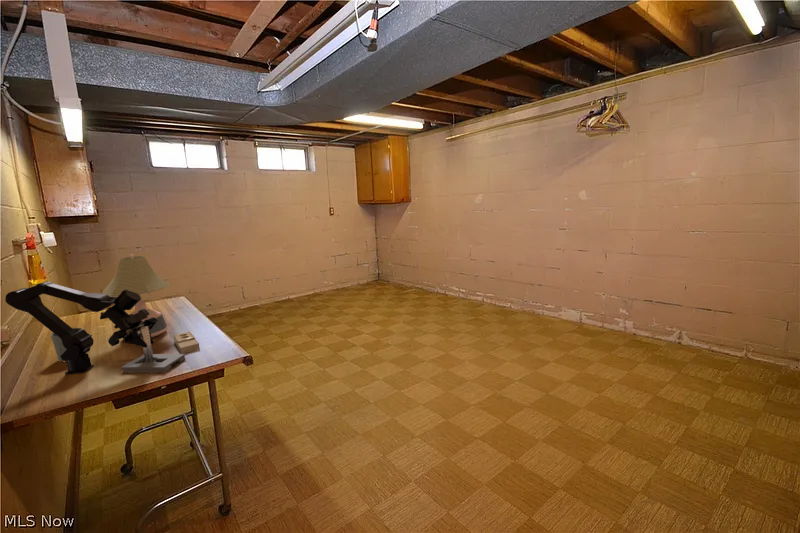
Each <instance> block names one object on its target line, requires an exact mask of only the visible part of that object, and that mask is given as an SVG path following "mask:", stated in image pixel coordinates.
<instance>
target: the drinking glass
mask: <svg viewBox="0 0 800 533" xmlns="http://www.w3.org/2000/svg"><path fill="white" fill-rule="evenodd" d="M71 328H72V327H71ZM72 329H74V330H76V331H81V330H83V327H73V328H72ZM50 338H51V341H52V343H53V346H54V350H55V353H56V355H57V360H58V361H59V362H60V361H63V360H62V358H61V357H60V356H61V355H62V354H63V353H64V352H65V351H66V349H65V347H64V346H63V344H62V341H61V339H60V338H59V337H58V336H57V335H56V334H54V333H53V332H52V333H51V334H50Z"/></svg>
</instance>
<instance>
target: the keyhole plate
mask: <svg viewBox="0 0 800 533" xmlns="http://www.w3.org/2000/svg"><path fill="white" fill-rule="evenodd" d="M153 358H154V360H156V361H157V362H149V363H147V364H144V363H145V356H144V354H142V355H141V356H139V357H137V358H135V359H133V360H131V361H130V362H128V363H126V364H124V365H122V366H121V367H120V369H121V370H122V371H121V372H122V373H167V372H169V371H170V370H172V365H173V364H174V363H175V364H179V363H182V362H184V361H185V360H186V353H183V354H181V353H153Z"/></svg>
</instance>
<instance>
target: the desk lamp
mask: <svg viewBox="0 0 800 533" xmlns="http://www.w3.org/2000/svg"><path fill="white" fill-rule="evenodd" d="M170 286H171V284H170V283H168V282H167V281H166V280H164V279H163V278H162V277H161V276H160V275H158V274H157V273H156V271H155V270H154V269H153V268H152V267H151V265H150V264H149V262H148V260H147V259H146V257H145V256H144V255H138V256H137V255H136V256H135V254H129V256H127V257H122V258H119V260H118V264H117V269H116V271H115V274H114V276H113V277H112V280H111V281H110V282H109V284H108V285H107V286H106V287H105V288H104V289H103V290H102V292H101V294H106V295H108V296H110V297H118V296H119V295H120V294H121V292H122V291H123V290H125V289H127V290H128V291H132V292H134V293H137V294H138V295H139V296H140V297H141V298H142V295H141V294H148V293H152V292H156V291H159V290H163V289H165V288H168V287H170ZM147 306H148V305H147V304H146V301H145V300H143V299H141V300H140V301H139V302H138V303H137V304H136V305H135V306H134V310H133V311H132V312H130V313H128V314H129V315H130V314H133V315H134V314H136V313H139V312H138V311H140V310H142V309H146V310H147V311H148V312H149V315H148V316H147V317H148V318H145V319H143V320H141V321H142V323H140V324H139V325H142V324H143V322H144V321H145V320H146V319H149V318H152V317H155V318H156V319H157V320H158V322H157V323H156V324H155V325H154V327H153V328H152V329H151V330H149V332H150V335H151V337H152V339H153V338H155V337H156V338H157V336H160V335H161V334H162V333H164V332H165V331H166V330H167V329H168V325H167V322H166V320H165V319H164V317H163V316H164V315H163V314H162V313H161V312H160V311H157V310H154V309H151V308H148V307H147ZM137 334H138V335H139V333H138V332H137Z"/></svg>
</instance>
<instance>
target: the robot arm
mask: <svg viewBox="0 0 800 533" xmlns="http://www.w3.org/2000/svg"><path fill="white" fill-rule="evenodd" d="M42 295H47V296H50V297H53V298H56V299H57V298H58V299H61V300H65V301H69V302H72V303H76V304H79V305H80V306H81V307H83V308H84V309H86V310H88V311H91V312H94V313H98V312H100V316H99V319H100V320H106V319H108V320H109V321H110V322H112V323H113V324H114V326H113V328H114V329H115V330H116V329H119V330H117V331H114V332H113V333H112V334H111V336H110V337H109V338H108V340H107V342H108V344H109V345H110V346H111V347H115V346H117V345H119V344H120V340H121V339H123V341H122V343H123V344H130V345H134V346H135V345H136V346H139V347H141V348H143V347H145V348H146V347H147V344H146V343H145V342H144V341H143V340H142V339H141V334H140V328H141V327H145V326H148V329H149V330H151V329H152V328H153V327H154V325H155V324H156V323H157V322H158V320H157V319H156V318H155V317H152V318H149V319H146V320H145V321H144V322H143V324H142V325H139V324H140V323H142V321H141V320H143V319H145V318H148V317H147V316H148V315H149V312H148V311H147V310H146V309H142V310H140V311H138V312H139V313H136V314H134V315H133V314H131V313H128V312H126V311H131V310H132V309H133V308H135V305H136V304H137V303H138V302H139V301H140V300H142V296H141V297H140V296H139V295H138V294H137V293H134V292H132V291H128V290H127V289H125V290H123V291H122V292H121V294H120V295H119V296H113V297H112V296H108V295H106V294H103V293H99V292H98V293H97V292H85V291H81V290H77V289H73V288H70V287H67V286H63V285H60V284H57V283H54V282H52V281H43V282H40V283H37V284H36V285H33V286H31V287H22V288H19V289H16V290H12V291H9V292H8V293H7V294H6V295H5V298H4V301H5V303H6V304H7V305H8V306H10V307H12V308H14V309H15V310H17V311H21V312H25V313H28V314H29V315H30V316H31V317H33V318H35V320H37V322H39V323H40V324H42V325H43V326H44V327H45V328H47V329H48V330H49V331H50V332H52V333H54V334H56V335H57V336H58V337H59V338H60V339H61V341H62V344H63V346H64V347H65V349H66V351H65V352H64V353H63V354H62V355H61V356H60V357H61V358H62V360H63V361H66V366H67V371H66V372H64V374H65V375H71V374H82V373H84V372H86V371H87V370H89V369H92V367H94V364H92V362H91V358H90V356H89V353H88V352H90V350H91V347H93V345H94V341H95V340H94V338H93V335H91V334H90V333H88V332H87V330H86V329H83V328H82V329H83V330H81V331H76V330H74V329H72V327H71V326H70V325H69V324H67V322H65V321H64V320H63V319H61V318H60V317H59V316H58V315H57V314H55V313H54V312H53V311H51V310H50V309H49V308H48V307H47V306H45V304H44V303H43V300H42V298H41V296H42ZM105 309H106V310H105ZM103 310H105V311H103ZM129 314H130V315H129ZM137 332H138V333H139V335H138V334H137ZM149 335H150V332H149ZM150 341H151V345H153V344H154V343H155V341H154V340H153V338H152V337H151V335H150Z"/></svg>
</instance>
